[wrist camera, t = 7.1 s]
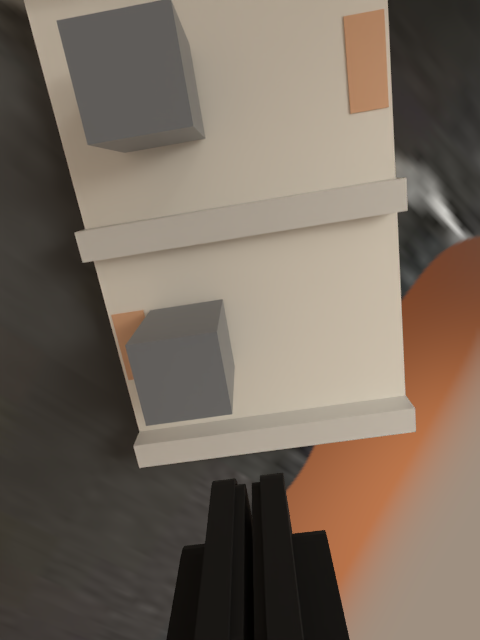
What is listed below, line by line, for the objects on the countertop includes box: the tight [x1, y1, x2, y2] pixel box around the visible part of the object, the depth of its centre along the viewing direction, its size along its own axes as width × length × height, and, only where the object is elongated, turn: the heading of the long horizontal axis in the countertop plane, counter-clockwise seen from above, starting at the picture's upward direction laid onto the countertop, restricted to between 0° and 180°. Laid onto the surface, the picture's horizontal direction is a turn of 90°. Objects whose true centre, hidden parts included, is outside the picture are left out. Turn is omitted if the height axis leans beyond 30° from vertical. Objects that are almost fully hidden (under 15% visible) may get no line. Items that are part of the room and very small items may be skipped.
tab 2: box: [125, 299, 235, 426], centre depth 21 cm, size 4×4×5 cm
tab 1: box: [57, 0, 206, 153], centre depth 18 cm, size 4×4×5 cm
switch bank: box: [24, 0, 416, 468], centre depth 22 cm, size 16×26×4 cm, turn 9°
